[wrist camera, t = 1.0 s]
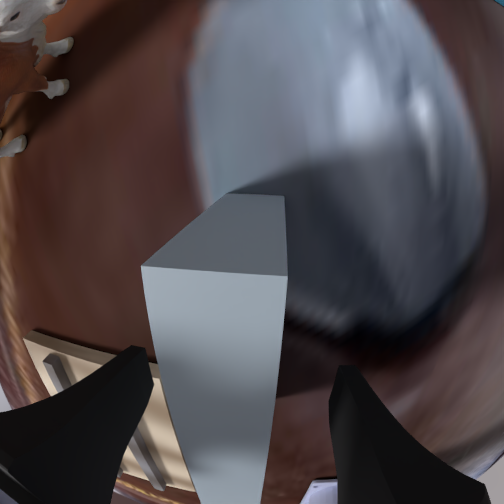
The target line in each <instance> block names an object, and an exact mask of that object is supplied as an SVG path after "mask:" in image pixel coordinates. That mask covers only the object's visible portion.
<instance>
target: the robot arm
mask: <svg viewBox="0 0 504 504" xmlns="http://www.w3.org/2000/svg"><path fill="white" fill-rule="evenodd" d="M153 387H154V381H153V378H152V374H151V370H150V366H149V362H148V358H147V354H146V350H145V348H143V347H138V346H133V345H131V346H130V347H128V348H127V349H125V350H124V351H122V352H121V353H119V354H118V355H117V356H115V357H114V358H113V359H111V360H110V361H108V362H107V363H106V364H104V365H103V366H101V367H100V368H98V369H97V370H96V371H94V372H93V373H91V374H90V375H88V376H86V377H85V378H83V379H82V380H80V381H78V382H77V383H75V384H74V385H72V386H70V387H69V388H67V389H65V390H63V391H61V392H59V393H57V394H55V395H53V396H51V397H49V398H46V399H44V400H41V401H39V402H36V403H33V404H31V405H28V406H25V407H21V408H18V409H14V410H10V411H6V412H0V504H110V503H111V498H112V493H113V489H114V486H115V482H116V478H117V475H118V471H119V468H120V465H121V462H122V459H123V456H124V453H125V451H126V449H127V446H128V444H129V442H130V440H131V438H132V436H133V434H134V432H135V430H136V428H137V426H138V424H139V422H140V420H141V418H142V416H143V414H144V412H145V410H146V408H147V405H148V402H149V400H150V397H151V394H152V390H153ZM329 425H330V432H331V438H332V445H333V451H334V458H335V465H336V472H337V479H328V480H315V481H313V482H312V483H311V485H310V487H309V488H308V490H307V492H306V494H305V496H304V498H303V499H302V501H301V503H300V504H491V502H490V498H489V495H488V492H487V489H486V486H485V484H484V483H481V482H479V481H477V480H475V479H473V478H471V477H468V476H466V475H464V474H462V473H461V472H459V471H457V470H456V469H454V468H452V467H451V466H449V465H447V464H446V463H444V462H443V461H441V460H440V459H439V458H437V457H436V456H435V455H433V454H432V453H431V452H429V451H428V450H427V449H426V448H424V447H423V446H422V445H421V444H420V443H419V442H418V441H417V440H415V439H414V438H413V437H412V436H411V435H410V434H409V433H408V432H407V431H406V430H405V429H404V428H403V427H402V425H401V424H400V423H399V422H398V421H397V420H396V419H395V418H394V416H393V415H392V414H391V413H390V412H389V410H388V409H387V408H386V407H385V405H384V404H383V403H382V401H381V400H380V399H379V398H378V396H377V395H376V394H375V392H374V391H373V389H372V388H371V387H370V385H369V384H368V382H367V381H366V380H365V378H364V377H363V375H362V374H361V372H360V371H359V369H358V368H357V367H356V366H355V365H339V368H338V372H337V375H336V379H335V382H334V386H333V389H332V392H331V395H330V399H329Z"/></svg>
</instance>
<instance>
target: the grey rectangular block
mask: <svg viewBox="0 0 504 504" xmlns="http://www.w3.org/2000/svg"><path fill="white" fill-rule="evenodd" d="M141 270H142V278H143V285H144V292H145V299H146V305H147V311H148V317H149V322H150V328H151V333H152V338H153V343H154V348H155V353H156V358H157V362H158V367H159V371H160V375H161V379H162V384H163V388H164V392H165V395H166V399H167V403H168V407H169V410H170V414H171V417H172V421H173V424H174V428H175V431H176V434H177V437H178V441H179V444H180V447H181V450H182V453H183V456H184V459H185V462H186V464H187V467H188V470H189V473H190V476H191V478H192V481H193V484H194V486H195V489H196V491H197V494H198V496H199V499H200V501H201V504H260V500H261V494H262V488H263V482H264V475H265V469H266V463H267V456H268V449H269V442H270V435H271V428H272V420H273V413H274V405H275V397H276V389H277V381H278V372H279V363H280V354H281V344H282V335H283V325H284V314H285V303H286V292H287V280H288V267H287V242H286V220H285V201H284V196H280V195H259V194H231V193H226V194H225V195H224V196H223V197H221V198H220V199H219V200H218V201H216V202H215V203H214V204H213V205H212V206H210V207H209V208H208V209H207V210H205V211H204V212H203V213H202V214H201V215H199V216H198V217H197V218H196V219H195V220H193V221H192V222H191V223H190V224H189V225H187V226H186V227H185V228H184V229H183V230H181V231H180V232H179V233H178V234H177V235H176V236H174V237H173V238H172V239H171V240H170V241H169V242H167V243H166V244H165V245H164V246H163V247H162V248H161V249H159V250H158V251H157V252H156V253H155V254H154V255H153V256H151V257H150V258H149V259H148V260H147V261H146V262H145V263H144V264H142V265H141Z"/></svg>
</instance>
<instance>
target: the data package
mask: <svg viewBox="0 0 504 504" xmlns="http://www.w3.org/2000/svg"><path fill="white" fill-rule="evenodd" d="M494 1H496V2H498V3H499V4H501V5H502V6H504V0H494Z"/></svg>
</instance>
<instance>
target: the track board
mask: <svg viewBox="0 0 504 504" xmlns="http://www.w3.org/2000/svg"><path fill="white" fill-rule="evenodd" d="M23 339H24V342H25V344H26V347H27V349H28V351H29V353H30V356H31V358H32V360H33V362H34V364H35V366H36V368H37V370H38V372H39V374H40V376H41V378H42V380H43V382H44V384H45V386H46V388H47V390H48V392H49V393H50V395H51V396H53V395H55V394H57V393H59V392H61V391H63V390H65V389H67V388H69V387H70V386H72V385H74V384H75V383H77V382H78V381H80V380H82V379H83V378H85V377H86V376H88V375H90V374H91V373H93V372H94V371H96V370H97V369H98V368H100V367H101V366H103V365H104V364H106V363H107V362H108V361H110V360H111V359H113V358H114V357H115V356H117V355H113V354H109V353H105V352H101V351H97V350H93V349H90V348H86V347H83V346H79V345H76V344H72V343H69V342H66V341H62V340H59V339H56V338H53V337H50V336H47V335H44V334H41V333H38V332H35V331H33V330H31V331H30V332H29V333H28V334H27V335H26V336H25V337H24V338H23ZM149 366H150V370H151V374H152V378H153V381H154V387H153V390H152V394H151V397H150V400H149V402H148V405H147V408H146V410H145V412H144V414H143V416H142V418H141V420H140V422H139V424H138V426H137V428H136V430H135V432H134V434H133V436H132V438H131V440H130V442H129V444H128V446H127V449H126V451H125V453H124V456H123V459H122V462H121V465H120V468H119V471H118V475H117V477H121V475H122V472H124V473H127V474H130V475H133V476H136V477H139V478H142V479H146V480H149V481H150V482H151V484H152V485H153V487H154V488H155V489H158V490H161V491H164V490H165V487H166V485H167V486H171V487H175V488H180V489H184V490H189V491H194V492H196V489H195V486H194V484H193V481H192V478H191V476H190V473H189V470H188V467H187V464H186V462H185V459H184V456H183V453H182V450H181V447H180V444H179V441H178V437H177V434H176V431H175V428H174V424H173V421H172V417H171V414H170V410H169V407H168V403H167V399H166V395H165V392H164V388H163V384H162V379H161V375H160V371H159V367H158V364H154V363H149Z"/></svg>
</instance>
